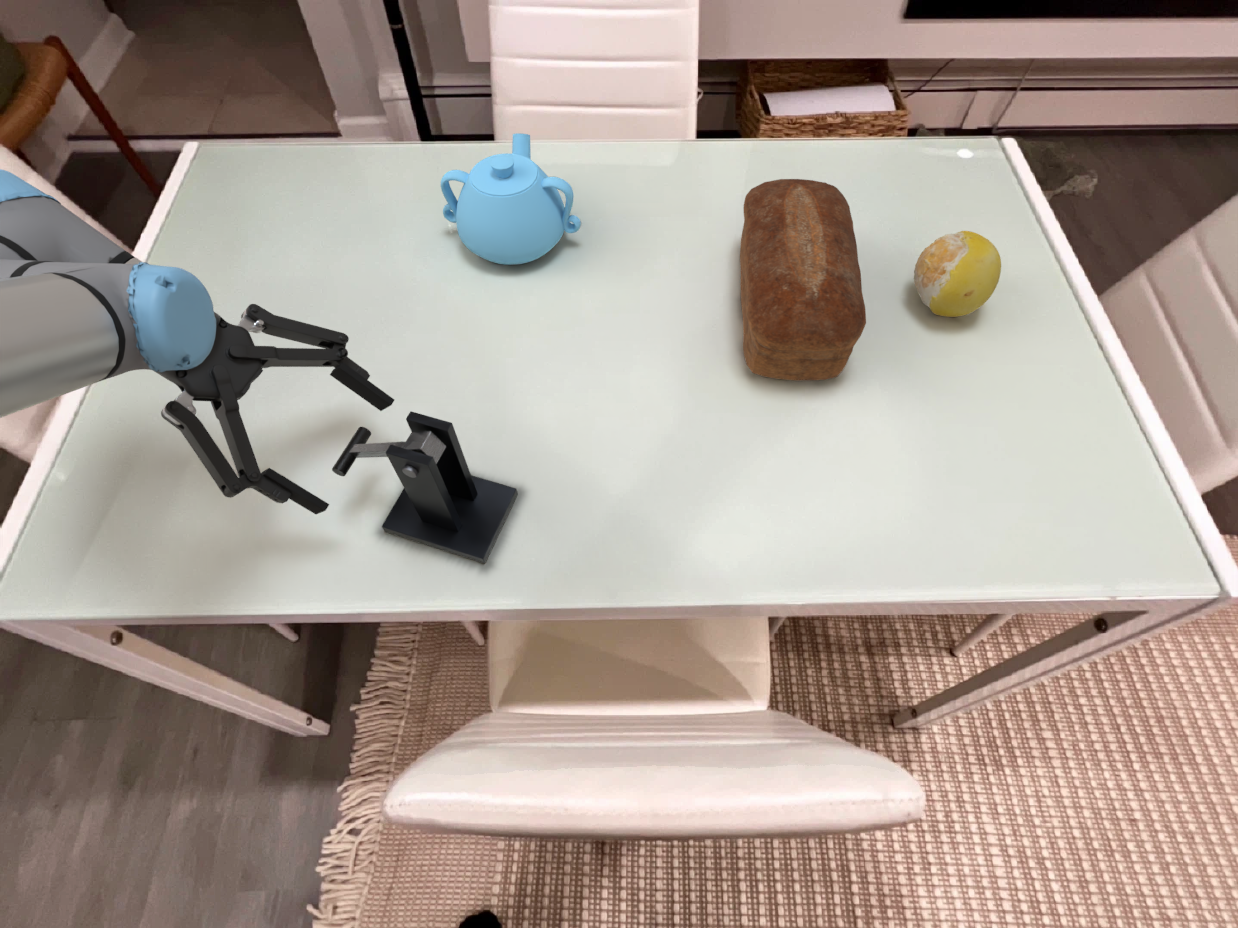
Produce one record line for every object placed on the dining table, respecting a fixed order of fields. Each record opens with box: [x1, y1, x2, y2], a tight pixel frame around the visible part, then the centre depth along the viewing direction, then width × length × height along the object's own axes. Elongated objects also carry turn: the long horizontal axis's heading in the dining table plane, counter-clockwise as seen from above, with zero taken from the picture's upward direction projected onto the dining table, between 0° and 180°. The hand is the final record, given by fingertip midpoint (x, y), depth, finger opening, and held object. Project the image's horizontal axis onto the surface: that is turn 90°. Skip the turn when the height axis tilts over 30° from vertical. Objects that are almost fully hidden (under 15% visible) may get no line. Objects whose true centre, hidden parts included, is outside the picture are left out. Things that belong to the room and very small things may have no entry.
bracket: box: [381, 411, 519, 564], centre depth 72 cm, size 12×9×15 cm
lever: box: [331, 426, 446, 477], centre depth 70 cm, size 13×6×2 cm, turn 71°
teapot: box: [440, 132, 582, 266], centre depth 98 cm, size 20×20×13 cm
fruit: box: [913, 230, 1002, 318], centre depth 90 cm, size 10×11×10 cm
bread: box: [739, 178, 867, 382], centre depth 89 cm, size 14×28×12 cm, turn 176°
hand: (357, 455), depth 74 cm, fingers open, 13 cm apart
